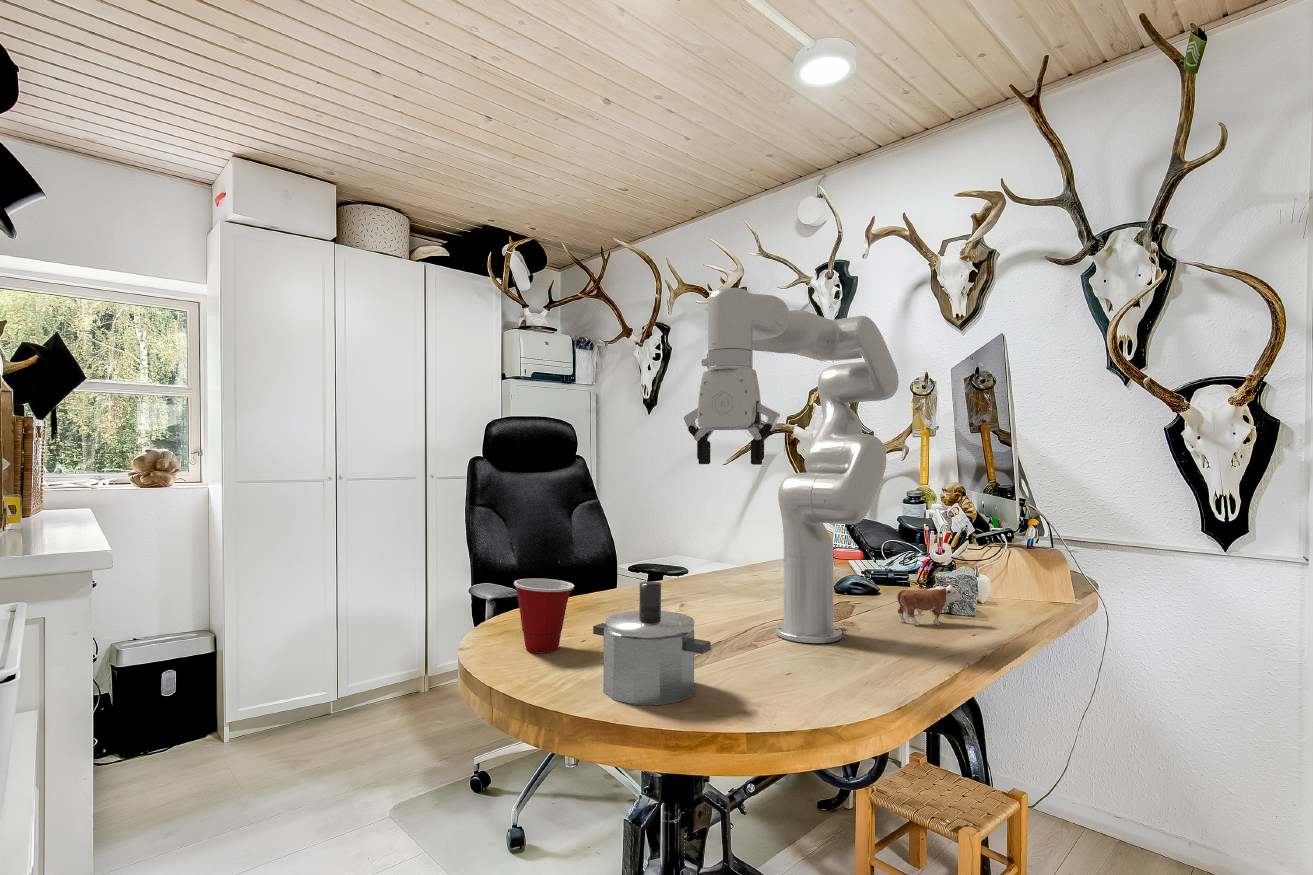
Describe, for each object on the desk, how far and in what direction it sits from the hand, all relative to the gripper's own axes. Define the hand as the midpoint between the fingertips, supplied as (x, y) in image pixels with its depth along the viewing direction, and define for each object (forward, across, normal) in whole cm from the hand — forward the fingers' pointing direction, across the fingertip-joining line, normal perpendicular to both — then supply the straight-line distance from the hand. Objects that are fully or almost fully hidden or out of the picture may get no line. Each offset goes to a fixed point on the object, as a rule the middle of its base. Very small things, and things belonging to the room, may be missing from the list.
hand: (729, 464), depth 110 cm
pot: (+33, -5, -17) cm, 38 cm away
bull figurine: (+34, +23, +48) cm, 63 cm away
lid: (+25, -5, -17) cm, 31 cm away
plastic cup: (+34, -32, -10) cm, 47 cm away
